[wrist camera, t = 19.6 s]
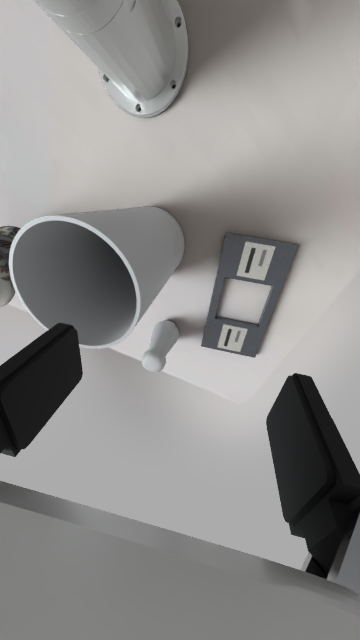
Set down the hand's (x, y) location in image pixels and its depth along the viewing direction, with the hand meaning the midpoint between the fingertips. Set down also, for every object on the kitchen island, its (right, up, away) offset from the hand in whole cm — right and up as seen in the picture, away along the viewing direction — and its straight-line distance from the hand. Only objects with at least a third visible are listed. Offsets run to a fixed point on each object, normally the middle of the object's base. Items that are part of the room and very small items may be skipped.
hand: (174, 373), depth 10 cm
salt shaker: (-2, +1, +40) cm, 40 cm away
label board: (+13, +6, +34) cm, 37 cm away
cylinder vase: (-5, +17, +32) cm, 36 cm away
